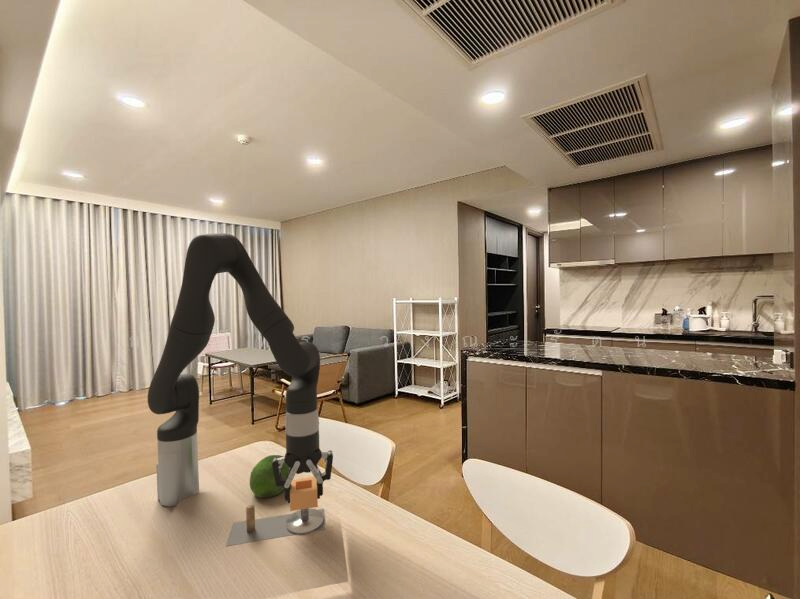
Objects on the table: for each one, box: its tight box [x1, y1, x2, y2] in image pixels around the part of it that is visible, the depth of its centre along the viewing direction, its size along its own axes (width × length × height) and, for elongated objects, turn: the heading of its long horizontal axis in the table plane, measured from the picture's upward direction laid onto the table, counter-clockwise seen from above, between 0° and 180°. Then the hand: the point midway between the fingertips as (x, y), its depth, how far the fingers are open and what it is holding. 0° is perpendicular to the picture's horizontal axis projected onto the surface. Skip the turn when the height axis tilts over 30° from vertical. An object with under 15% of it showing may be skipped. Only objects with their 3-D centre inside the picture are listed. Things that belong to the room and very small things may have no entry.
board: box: [225, 508, 326, 547], centre depth 86 cm, size 21×8×2 cm, turn 104°
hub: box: [286, 508, 325, 535], centre depth 87 cm, size 9×9×6 cm
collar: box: [289, 476, 319, 512], centre depth 87 cm, size 6×6×4 cm
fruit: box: [249, 454, 290, 499], centre depth 103 cm, size 15×10×10 cm, turn 175°
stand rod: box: [245, 504, 256, 533], centre depth 84 cm, size 2×2×6 cm
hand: (304, 498), depth 87 cm, fingers closed on collar, 6 cm apart
